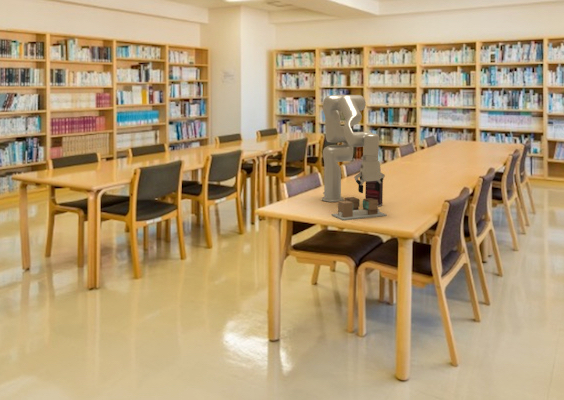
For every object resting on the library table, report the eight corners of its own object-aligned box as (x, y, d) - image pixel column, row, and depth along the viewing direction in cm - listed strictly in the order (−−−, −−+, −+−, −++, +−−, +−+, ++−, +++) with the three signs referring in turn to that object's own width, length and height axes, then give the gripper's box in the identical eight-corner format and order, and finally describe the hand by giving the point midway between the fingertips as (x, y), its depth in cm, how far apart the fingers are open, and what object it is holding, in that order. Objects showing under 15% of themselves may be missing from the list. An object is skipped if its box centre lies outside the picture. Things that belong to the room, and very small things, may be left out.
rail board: (331, 215, 296) (331, 200, 295) (373, 211, 306) (374, 196, 304) (343, 220, 286) (343, 204, 284) (386, 215, 295) (387, 200, 294)
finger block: (361, 212, 300) (362, 199, 298) (371, 211, 302) (371, 198, 300) (367, 214, 294) (368, 201, 293) (377, 213, 296) (377, 200, 295)
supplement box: (382, 205, 322) (383, 176, 319) (379, 206, 318) (380, 177, 315) (368, 203, 326) (368, 175, 323) (364, 205, 322) (365, 176, 319)
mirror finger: (344, 210, 308) (344, 197, 307) (354, 209, 310) (354, 196, 309) (350, 212, 303) (350, 199, 301) (359, 211, 305) (360, 198, 304)
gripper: (359, 160, 286) (358, 194, 290) (389, 158, 293) (387, 192, 296) (351, 158, 293) (350, 191, 297) (381, 156, 299) (379, 189, 303)
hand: (369, 191), depth 297 cm, fingers open, 9 cm apart
